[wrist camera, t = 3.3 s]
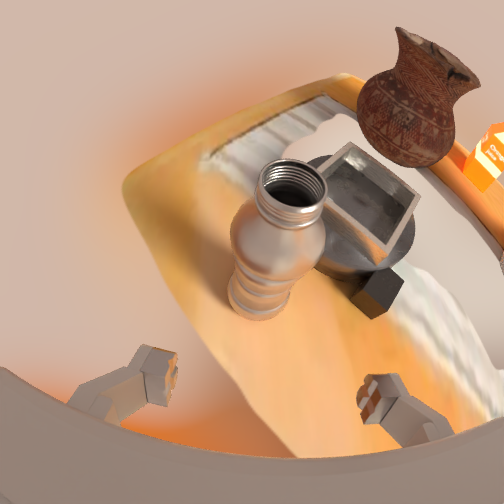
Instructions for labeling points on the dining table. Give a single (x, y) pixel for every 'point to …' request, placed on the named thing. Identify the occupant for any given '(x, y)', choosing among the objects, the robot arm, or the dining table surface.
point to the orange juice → (486, 158)
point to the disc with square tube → (365, 226)
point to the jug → (414, 103)
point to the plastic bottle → (276, 238)
